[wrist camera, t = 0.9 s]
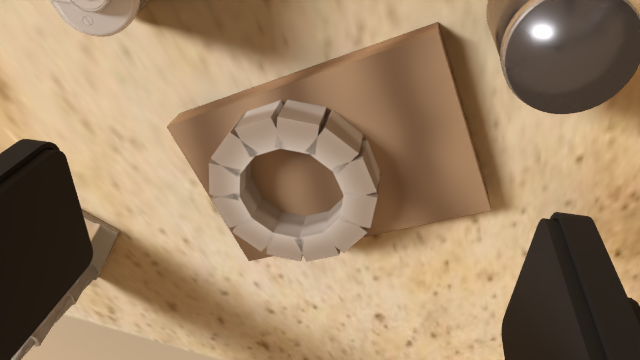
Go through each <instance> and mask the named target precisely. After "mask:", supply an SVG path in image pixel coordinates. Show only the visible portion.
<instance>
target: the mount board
mask: <svg viewBox="0 0 640 360" xmlns="http://www.w3.org/2000/svg"><path fill="white" fill-rule="evenodd" d="M167 128H168V130H169V131H170V133H171V135H172V136H173V138H174V140H175V141H176V143H177V144H178V146H179V148H180V149H181V151H182V153H183V154H184V156H185V157H186V159H187V161H188V162H189V164H190V166H191V167H192V169H193V171H194V172H195V174H196V175H197V177H198V179H199V180H200V182H201V184H202V185H203V187H204V188H205V190H206V192H207V193H208V195H209V197H210V198H211V201H212V202H213V204H214V205H215V207H216V209H217V210H218V212H219V214H220V215H221V217H222V219H223V220H224V222H225V223H226V225H227V227H228V228H229V229H230V231H231V232H232V234H233V236H234V237H235V239H236V241H237V242H238V244H239V246H240V247H241V249H242V250H243V252H244V254H245V255H246V257H247V259H248V260H249V261H251V260H256V259H261V258H266V257H271V256H278V257H283V258H287V259H292V260H296V261H301V260H302V256H304V258H305V260H306V261H312V260H317V259H322V258H327V257H332V256H337V255H339V254H340V250H341V251H342V252H346V251H347V250H348V249H349V248H350V247H351V246H353V245H354V244H355V243H356V242H357V241H358V240H360V239H361V238H362V237H367V236H371V235H376V234H381V233H386V232H390V231H395V230H400V229H405V228H410V227H414V226H419V225H424V224H429V223H434V222H438V221H443V220H448V219H453V218H458V217H462V216H467V215H472V214H477V213H482V212H486V211H491V208H490V203H489V197H488V192H487V189H486V185H485V182H484V178H483V175H482V172H481V168H480V165H479V161H478V158H477V154H476V151H475V148H474V144H473V141H472V137H471V134H470V131H469V127H468V124H467V120H466V117H465V113H464V110H463V107H462V103H461V100H460V96H459V93H458V89H457V86H456V83H455V79H454V76H453V72H452V69H451V66H450V62H449V59H448V55H447V52H446V48H445V45H444V42H443V38H442V35H441V31H440V28H439V24H438V22H437V23H434V24H431V25H428V26H425V27H422V28H420V29H417V30H414V31H411V32H408V33H406V34H403V35H400V36H397V37H394V38H391V39H389V40H386V41H383V42H380V43H377V44H375V45H372V46H369V47H366V48H363V49H360V50H358V51H355V52H352V53H349V54H346V55H343V56H341V57H338V58H335V59H332V60H329V61H327V62H324V63H321V64H318V65H315V66H312V67H310V68H307V69H304V70H301V71H298V72H295V73H293V74H290V75H287V76H284V77H281V78H279V79H276V80H273V81H270V82H267V83H264V84H262V85H259V86H256V87H253V88H250V89H248V90H245V91H242V92H239V93H236V94H233V95H231V96H228V97H225V98H222V99H219V100H216V101H214V102H211V103H208V104H205V105H202V106H200V107H197V108H194V109H191V110H188V111H185V112H183V113H180V114H179V115H178V116H177V117H176V118H175V119H174V120H173V121H172V122H171V123H170V124H169V125H168V126H167Z"/></svg>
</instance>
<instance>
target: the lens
mask: <svg viewBox="0 0 640 360" xmlns="http://www.w3.org/2000/svg"><path fill="white" fill-rule="evenodd" d="M487 22H488V26H489V29H490V31H491V34H492V37H493V39H494V42H495V45H496V48H497V50H498V53H499V56H500V62H501V67H502V70H503V74H504V76H505V79H506V82H507V84H508V86H509V87H510V89H511V90H512V92H513V93H514V94H515V95H516V96H517V97H518V98H519V99H520V100H522V101H523V102H524V103H526V104H527V105H529V106H531V107H533V108H535V109H537V110H540V111H543V112H547V113H553V114H570V113H577V112H581V111H585V110H588V109H591V108H593V107H596V106H598V105H600V104H602V103H603V102H605V101H607V100H608V99H610V98H611V97H613V96H614V95H615V94H617V93H618V92H619V91H620V90H621V89H622V88H623V87H624V86H625V85H626V84H627V83H628V82H629V80H630V79H631V78H632V76H633V75H634V73H635V71H636V70H637V68H638V66H639V63H640V16H639V14H638V13H637V11H636V9H635V8H634V7H633V5H632V4H631V3H630V2H629V1H628V0H488V4H487Z"/></svg>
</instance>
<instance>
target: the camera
mask: <svg viewBox="0 0 640 360" xmlns="http://www.w3.org/2000/svg"><path fill="white" fill-rule="evenodd" d="M50 1H51V3H52V4H53V5H54V7H55V8H56V10H57V11H58V13H59V14H60V16H61V17H62V18H63V19H64V20H65V21H66V22H67V23H68V24H69V25H70V26H71V27H73V28H74V29H76V30H78V31H80V32H82V33H85V34H88V35H92V36H110V35H114V34H116V33H119V32H120V31H122V30H123V29H125V28H126V27H127V26H128V25H129V24H130V23H131V22H132V20H133V19H134V18H135V16H136V14H137V13H138V12H139V11H140V10H141V9H142V8H143V7H144V6H145V4H146V3H147V1H148V0H50Z"/></svg>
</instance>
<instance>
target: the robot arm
mask: <svg viewBox="0 0 640 360" xmlns="http://www.w3.org/2000/svg"><path fill="white" fill-rule="evenodd" d="M92 258H93V247H92V244H91V241H90V237H89V234H88V230H87V227H86V223H85V220H84V217H83V213H82V210H81V206H80V203H79V200H78V196H77V193H76V189H75V186H74V183H73V179H72V176H71V172H70V169H69V165H68V162H67V159H66V156H65V154H64V153H63V152H61V151H60V150H59V148H58V147H57V146H56V145H55V144H54V143H51V142H45V141H37V140H30V139H22V140H20V141H18V142H17V143H15V144H14V145H12V146H11V147H9V148H8V149H6V150H5V151H4V152H2V153H1V154H0V360H11V359H12V358H13V356H14V355H15V354H16V353H17V352H18V350H19V349H20V348H21V347H22V346H23V345H24V343H25V342H26V341H27V340H28V339H29V337H30V336H31V335H32V334H33V333H34V331H35V330H36V329H37V328H38V327H39V325H40V324H41V323H42V322H43V321H44V319H45V318H46V317H47V316H48V315H49V313H50V312H51V311H52V310H53V309H54V307H55V306H56V305H57V304H58V303H59V301H60V300H61V299H62V298H63V297H64V295H65V294H66V293H67V292H68V291H69V289H70V288H71V287H72V286H73V285H74V283H75V282H76V281H77V280H78V279H79V277H80V276H81V275H82V274H83V273H84V271H85V270H86V269H87V268H88V266H89V265H90V263H91V261H92ZM502 342H503V349H504V356H505V360H640V306H639V304H638V303H637V302H636V301H635V300H633V299H632V298H628V297H627V295H626V293H625V290H624V288H623V286H622V284H621V281H620V279H619V277H618V275H617V272H616V270H615V268H614V266H613V263H612V261H611V259H610V257H609V255H608V252H607V250H606V248H605V246H604V243H603V241H602V239H601V237H600V234H599V232H598V230H597V228H596V225H595V223H594V221H593V220H592V218H591V217H589V216H582V215H575V214H567V213H560V212H556V213H554V214H553V215H552V216H551V218H550V219H545V218H543V219H541V220H540V221H539V224H538V226H537V229H536V231H535V234H534V237H533V239H532V242H531V245H530V248H529V250H528V253H527V256H526V258H525V261H524V264H523V267H522V269H521V272H520V275H519V277H518V280H517V283H516V286H515V288H514V291H513V294H512V296H511V299H510V302H509V304H508V307H507V310H506V313H505V315H504V318H503V323H502Z"/></svg>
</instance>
